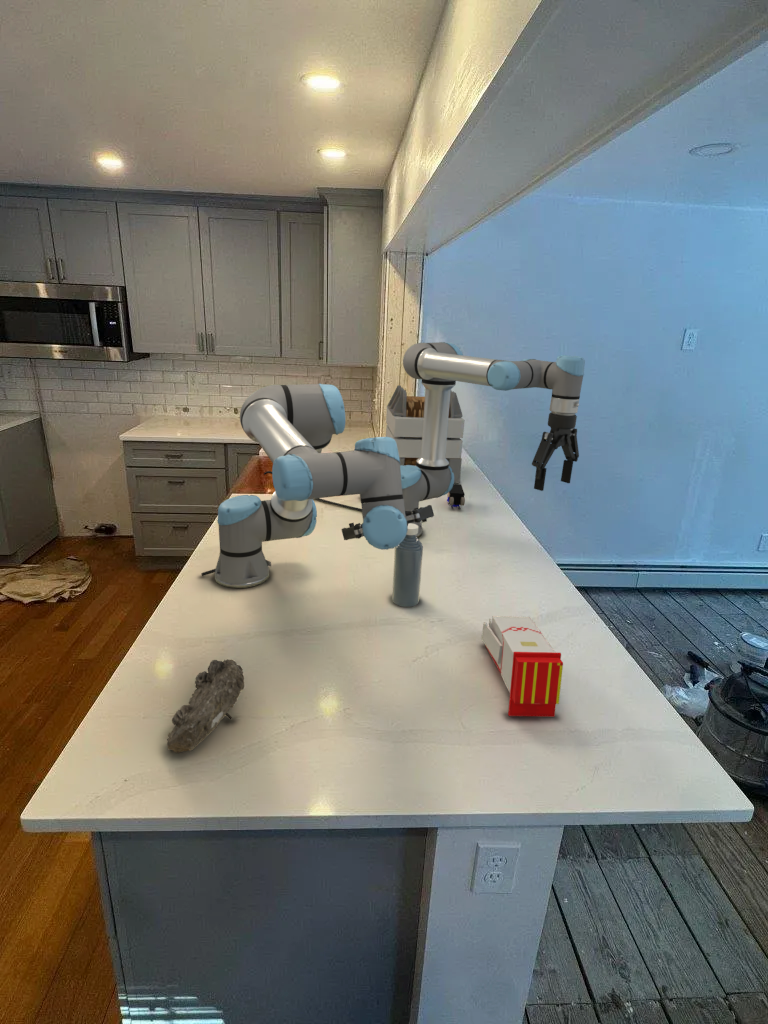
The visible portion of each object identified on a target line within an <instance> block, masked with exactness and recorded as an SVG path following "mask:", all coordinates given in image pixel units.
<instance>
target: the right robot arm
mask: <svg viewBox="0 0 768 1024" xmlns="http://www.w3.org/2000/svg"><path fill="white" fill-rule="evenodd" d="M585 365H586V360H585V358H584V357H582V356H578V355H566V354H565V355H564V354H563V355H558V356H557V357H556V360H555V361H549V360H541V359H536V358H524V359H521V360H506V359H505V360H504V359H503V360H502V359H496V358H487V357H479V356H471V355H464V354H463V352H462V350H461V349H460V347H459V346H457V345H456V344H455V343H451V342H445V341H443V342H442V341H441V342H440V341H439V342H438V341H437V342H417V343H414V344H412V345H411V346H409V347H408V348H407V350H406V351H405V353H404V355H403V358H402V366H403V369H404V372H405V373H406V374H407V375H408V376H409V377H411V378H412V379H415V380H421V385H422V386H423V387H424V389H425V392H424V397H425V404H424V419H423V434H422V449H421V457H420V458H418V459H417V461H416V466H413V465H401V466H400V470H401V484H402V494H403V499H404V507H405V512H409V511H412V510H414V508H418V509H419V508H420V506H419V505H420V502H423V501H427V500H431V499H437V498H440V497H443V496H446V495H447V494H448V492H449V491H450V490H451V489H452V487H453V484H455V483H454V473H452V469H451V467H450V466H449V462H448V461H447V459H446V458H445V453H446V441H447V428H448V416H449V404H450V392H451V391H452V389H453V388H454V387H455V386H456V384H457V382H461V383H465V384H473V385H479V386H487V387H491V388H492V389H494V390H496V391H503V392H504V391H511V390H520V389H532V388H533V389H534V388H539V389H546V390H551V398H550V404H549V413H548V418H547V419H548V420H547V426H548V427H549V428H550V431H549V432H548V431H543V432H542V435H541V440H540V442H539V445H538V447H537V449H536V452H535V454H534V457H533V460H532V461H531V466H533V467H535V475H534V477H535V478H534V485H533V489H534V490H537V491H539V492H543V491H544V489H545V484H546V483H545V482H546V476H547V468H546V466H547V465H548V463H549V461H550V459H551V457H552V456H553V454H554V453H555V451H556V450H557V449H558V448H560V447H561V449H562V452H563V455H564V458H565V459H563V463H562V468H561V469H562V470H561V475H560V482H562V483H566V484H571V478H572V472H573V466H574V463H576V462H578V461H579V457H580V453H579V444H578V428H576V423H577V419H578V416H577V414H578V412H579V411H578V410H579V406H580V397H581V391H582V385H583V380H584V376H585ZM268 474H271V475H272V471H271V470H266V471H265V472H263V475H268ZM314 501H317V502H322V503H324V504H329V505H333V506H337V507H341V508H344V509H349V510H352V511H358V512H361V513H362V508H359V507H355V506H352V505H348V504H342V503H338V502H334V501H330V500H327V499H324V498H317V499H314ZM412 524H416V525H418V534H416V536H417V538H418V539H419V538H420V537H421V536H422V535H423V522H422V521H420V522H418V523H416V522H415V523H413V522H412Z"/></svg>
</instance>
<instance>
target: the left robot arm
mask: <svg viewBox="0 0 768 1024" xmlns="http://www.w3.org/2000/svg"><path fill="white" fill-rule="evenodd" d="M239 411H240V412H239V423H240V426H241V428H242V430H243V432H244V433H245V434H246V436H247V437H248V438H249V439H250V440H252V441H253V442H255V443H258V445H259V446H260V447H261V448H262V450H263V452H264V453H265V454H266V456H267V457H268V459H269V460H270V461H271V463H272V468H271V469H272V471H271V472H272V474H271V475H272V485H273V489H274V492H273V493H272V495H271V498H270V499H264V500H262V499H261V498H260V497H259V496H258V495H254V494H250V495H249V494H242V495H241V494H240V495H237V496H233V497H230V498H228V499H225V500H224V501H222V502H221V503H220V504H219V506H218V508H217V520H216V521H217V525H218V538H219V554H218V555H219V556H218V558H217V562H216V565H215V568H213V569H210V570H207V571H204V572H201V576H202V577H204V576H207V575H211V574H213V573H214V580H215V582H216V583H217V584H218V585H220V586H222V587H225V588H230V589H247V588H252V587H256V586H259V585H262V584H264V583H265V582H266V581H267V580H268V579H269V577H270V568H272V561H270V560H267V559H266V557H265V554H264V552H263V542H272V541H280V540H281V541H282V540H289V539H301V538H304V537H307V536H310V535H312V533H313V532H314V530H315V528H316V525H317V517H318V514H317V513H318V511H317V505H316V502H315V499H317V498H320V499H326V498H332V497H343V496H344V497H345V496H354V495H359V497H360V504H361V509H362V512H361V515H362V523H361V522H358V523H354V522H351V523H348V527H342V528H341V533H342V538H343V541H349V540H353V539H361V538H362V537H364V538H365V540H366V541H367V543H368V544H369V546H372V547H373V548H375V549H378V550H383V551H384V550H390V549H395V547H396V546H398V545H400V544H401V543H402V542H403V541H404V539H405V537H406V533H407V531H408V527H407V526H408V524H409V523H412V522H413V523H415V522H416V523H418V522H422V523H426V522H428V519H430V518H433V517H435V513H434V510H433V509H434V508H433V505H432V504H428V505H426V506H423V507H422V506H419V508H414V510H412V511H409V512H405V507H404V499H403V494H402V484H401V470H400V459H399V453H398V449H397V444H396V441H395V440H394V439H393V438H391V437H386V436H376V437H367V438H366V437H365V438H362V439H359V440H357V441H355V443H354V450H346V451H345V450H344V451H335V452H333V451H331V452H322V451H323V449H325V448H326V447H328V446H329V444H331V441H332V437H333V435H336V436H339V434H342V433H344V431H345V429H346V410H345V403H344V400H343V396H342V394H341V392H340V390H339V388H338V387H337V386H335V385H333V384H327V383H314V384H313V383H311V384H308V383H307V384H303V383H302V384H269V385H266V386H263V387H260V388H258V389H257V390H255V391H254V392H252V393H251V394H250V395H249V396H248V397H247V398H246V399H245V400H244V402H243V403H242V404H241V408H240V410H239Z"/></svg>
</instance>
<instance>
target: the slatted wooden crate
mask: <svg viewBox="0 0 768 1024" xmlns="http://www.w3.org/2000/svg"><path fill="white" fill-rule="evenodd" d="M407 394H408V393H407V390H406V389H404V388H403V387H402V385H399V384H398V385H397V386H396V388H395V390H394V392H393V394H392V395H391V398H390V400H389V402H388V404H387V405H386V413H385V414H386V415H385V423H386V428H385V437H391V438H393V439H394V440H395V441H396V444H397V449H398V453H399V459H400V466H401V465H404V466H405V465H413V466H416V461H417V459H418V458H420V457H421V449H422V434H423V419H424V404H425V396H415V395H414V396H413V395H412V396H411V395H407ZM464 429H465V419H464V418H463V411H462V408H461V405H460V402H459V398H458V395H457V392H455V391H453V390H451V392H450V404H449V416H448V428H447V441H446V453H445V458H446V459H447V461H448V462H449V466H450V467H451V469H452V473H454V484H460V483H461V472H462V461H463V460H462V453H463V442H464V441H463V440H462V439H463V438H464V431H465V430H464Z"/></svg>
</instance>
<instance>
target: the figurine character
mask: <svg viewBox="0 0 768 1024" xmlns="http://www.w3.org/2000/svg"><path fill="white" fill-rule="evenodd" d="M446 495H447V496H446V497H447V499H446V502H447V504H448V505H449V506H450V507H451V510H454V508H458V510H462V509H461V507H464V506H465V505H466V504H465V503H466V498H465V491H464V488H463V485H462V484H461V483H454V484H453V487H452V489H451V490H450V491H449V492H448V493H447V494H446Z"/></svg>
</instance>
